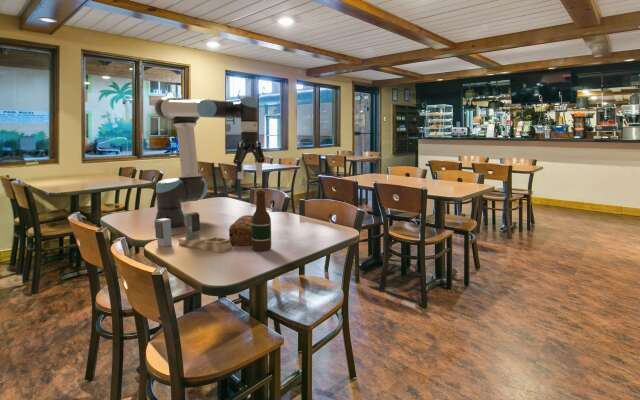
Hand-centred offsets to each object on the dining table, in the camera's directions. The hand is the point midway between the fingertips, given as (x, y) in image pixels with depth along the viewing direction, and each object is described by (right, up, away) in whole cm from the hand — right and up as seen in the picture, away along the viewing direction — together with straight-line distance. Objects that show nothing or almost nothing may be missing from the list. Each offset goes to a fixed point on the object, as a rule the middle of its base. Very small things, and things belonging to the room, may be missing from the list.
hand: (250, 177), depth 186 cm
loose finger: (-33, -29, -17) cm, 47 cm away
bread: (0, -29, -9) cm, 30 cm away
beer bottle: (+9, -31, -23) cm, 39 cm away
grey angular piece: (-16, -30, -19) cm, 39 cm away
